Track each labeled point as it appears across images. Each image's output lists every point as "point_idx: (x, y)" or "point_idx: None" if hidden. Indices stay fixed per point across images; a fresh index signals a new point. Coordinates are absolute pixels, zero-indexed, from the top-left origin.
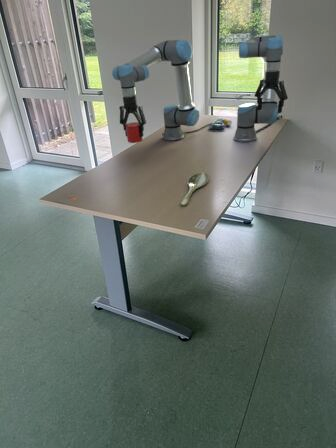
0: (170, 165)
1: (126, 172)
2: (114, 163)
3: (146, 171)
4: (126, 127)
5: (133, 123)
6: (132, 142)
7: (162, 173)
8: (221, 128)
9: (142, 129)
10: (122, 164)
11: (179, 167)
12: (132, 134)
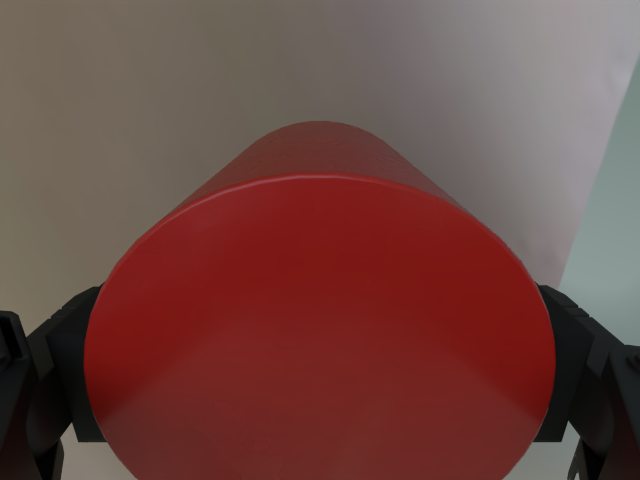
0: (92, 218)
1: (352, 3)
2: (536, 166)
3: (198, 66)
4: (456, 202)
5: (350, 470)
6: (304, 123)
7: (51, 57)
8: None
9: (70, 306)
10: (461, 161)
11: (8, 198)
12: (271, 143)
